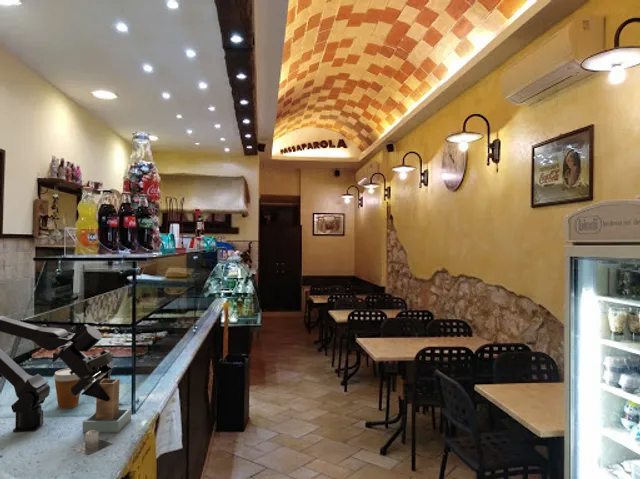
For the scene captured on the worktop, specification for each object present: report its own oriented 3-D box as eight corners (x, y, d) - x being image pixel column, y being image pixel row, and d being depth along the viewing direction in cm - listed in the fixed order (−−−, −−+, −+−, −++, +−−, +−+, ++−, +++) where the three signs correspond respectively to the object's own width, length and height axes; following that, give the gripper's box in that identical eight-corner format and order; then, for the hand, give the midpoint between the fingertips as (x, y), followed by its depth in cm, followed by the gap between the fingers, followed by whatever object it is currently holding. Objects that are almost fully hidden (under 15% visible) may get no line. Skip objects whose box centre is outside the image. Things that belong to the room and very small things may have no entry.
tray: (82, 434, 140) (82, 421, 140) (97, 420, 151) (98, 408, 151) (118, 435, 141) (118, 422, 141) (130, 421, 151) (131, 408, 151)
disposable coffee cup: (62, 412, 157) (62, 377, 157) (47, 406, 162) (47, 372, 162) (89, 404, 165) (89, 370, 165) (73, 398, 170) (74, 366, 170)
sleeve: (95, 419, 143) (96, 383, 143) (102, 412, 148) (103, 378, 148) (112, 419, 143) (113, 383, 143) (118, 413, 148) (119, 378, 148)
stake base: (69, 450, 130) (69, 434, 130) (94, 439, 137) (94, 424, 137) (88, 457, 127) (88, 440, 127) (113, 445, 134) (113, 429, 134)
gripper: (82, 351, 136) (119, 389, 137) (108, 337, 155) (141, 370, 155) (54, 377, 136) (91, 415, 136) (84, 360, 155) (117, 393, 155)
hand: (112, 397), depth 146 cm, fingers closed on sleeve, 5 cm apart
